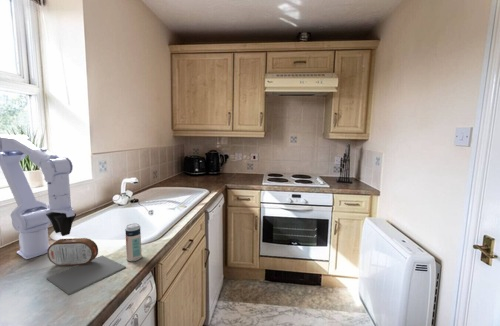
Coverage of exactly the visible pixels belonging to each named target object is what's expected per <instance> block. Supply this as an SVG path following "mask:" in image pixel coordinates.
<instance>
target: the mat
mask: <svg viewBox="0 0 500 326" xmlns="http://www.w3.org/2000/svg"><path fill="white" fill-rule="evenodd" d="M126 268H127V266H126V265H124V264H121V263H119V262H117V261H115V260H113V259H110V258H109V257H107V256H104V255H100V256H96V258H95V259H93V260H92V261H91V262H89V263H88V264H85V265H74V266H73V267H69V268H67V269H65V270H63V271H60V272H57V273H55V274H52V275H49V276H47V277H46V280H47V281H49V282H50V283H52V284H53V285H54V286H55V287H57V288H58V289H60V290H61V291H63V292H64V293H65V294H67V295H68V296H70V295H72V294H74V293H76V292H78V291H80V290H82V289H85V288H87V287H88V286H91V285H93V284H94V283H95V284H96V283H97V282H99V281H101V280H104V279H105V278H108V277H109V276H111V275H113V274H116V273H118V272H120V271H122V270H124V269H126Z"/></svg>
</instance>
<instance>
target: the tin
mask: <svg viewBox="0 0 500 326" xmlns="http://www.w3.org/2000/svg"><path fill="white" fill-rule="evenodd" d="M46 254H47V258H48V260H49V261H50V262H51V263H52V264H53V265H55V266H60V267H61V266H77V265H85V264H88V263H89V262H91V261H92V260H93V259H95V258H97V257H98V254H99V247H98V245H97V243H96V242H95V241H94V240H92V239H91V238H86V237H82V238H81V237H79V238H77V237H75V238H59V239H57V240H56V241H55V242H53V243H51V244H49V248H48V250H47V253H46Z"/></svg>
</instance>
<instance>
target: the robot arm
mask: <svg viewBox="0 0 500 326" xmlns="http://www.w3.org/2000/svg"><path fill="white" fill-rule="evenodd" d="M27 156H28V157H29V158H28V159H29V161H30V162H32V163H33V164H34V165H35V166H37V167H38V168H40V169H41V173H42V174H43V176H44V181H45V182H46V183H47V192H48V193H47V195H48V203H46V202H42V201H39V200H37V199H36V196H35V195H34V192H33V190H32V188H31V186H30V183H29V182H28V179H27V177H26V174H25V172H24V170H23V168H22V166H21V163H20V161H23V160H25V159H26V157H27ZM73 166H74V165H73V162H72V161H71V159H69V158H68V157H67V156H64V157H59V156H58V155H57V154H55V153H53V152H51V151H49V149H48V148H47V147H37V146H36V145H35V144H33V143H32V142H31V139H30V137H29V136H27V135H26V134H0V169H1V171H2V174H3V175H4V177H5V180H6V182H7V184H8V187H9V190H10V191H11V194H12V195H13V197H14V200H15V203H16V204H17V205H16V207H15V208H14V209H13V210H12V211H11V213H10V217H11V224H12V228H13V229H14V230H15V231H16V232H17V233H19V234H18V244H19V250H17V251H16V254H18V255H19V256H21V257H22V258H23V259H25V260H29V259H33V258H36V257H39V256H43V255H45V254H47V250H48V248H49V246H50V243H49V232H48V231H49V230H48V227H50V226H52V228H53V230H54V233H55V234H58V233H60V236H62V237H64V236H68V235H70V234H71V230H72V225H73V222H74V220H75V219H76V217H77V213H76V212H75V209H73V205H72V202H71V187H70V175H71V173H72V172H73ZM50 224H51V225H50Z"/></svg>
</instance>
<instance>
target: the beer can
mask: <svg viewBox="0 0 500 326" xmlns="http://www.w3.org/2000/svg"><path fill="white" fill-rule="evenodd" d="M124 231H125V247H126V250H125V251H126V261H127V262H136V261H139V260H140V259H141V258H142V240H141V239H142V236H141V234H142V233H141V225H140V223H130V224H127V225H126V227H125V228H124Z"/></svg>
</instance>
